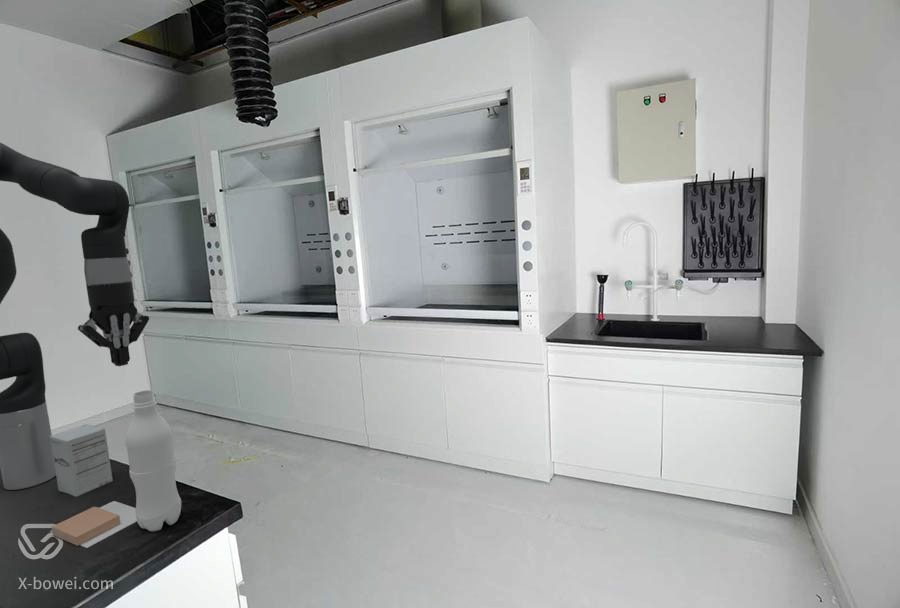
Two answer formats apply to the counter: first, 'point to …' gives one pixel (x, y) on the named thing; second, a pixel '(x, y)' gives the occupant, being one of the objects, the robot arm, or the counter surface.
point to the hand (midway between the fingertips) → (121, 365)
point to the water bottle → (152, 465)
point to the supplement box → (81, 459)
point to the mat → (126, 519)
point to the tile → (85, 525)
